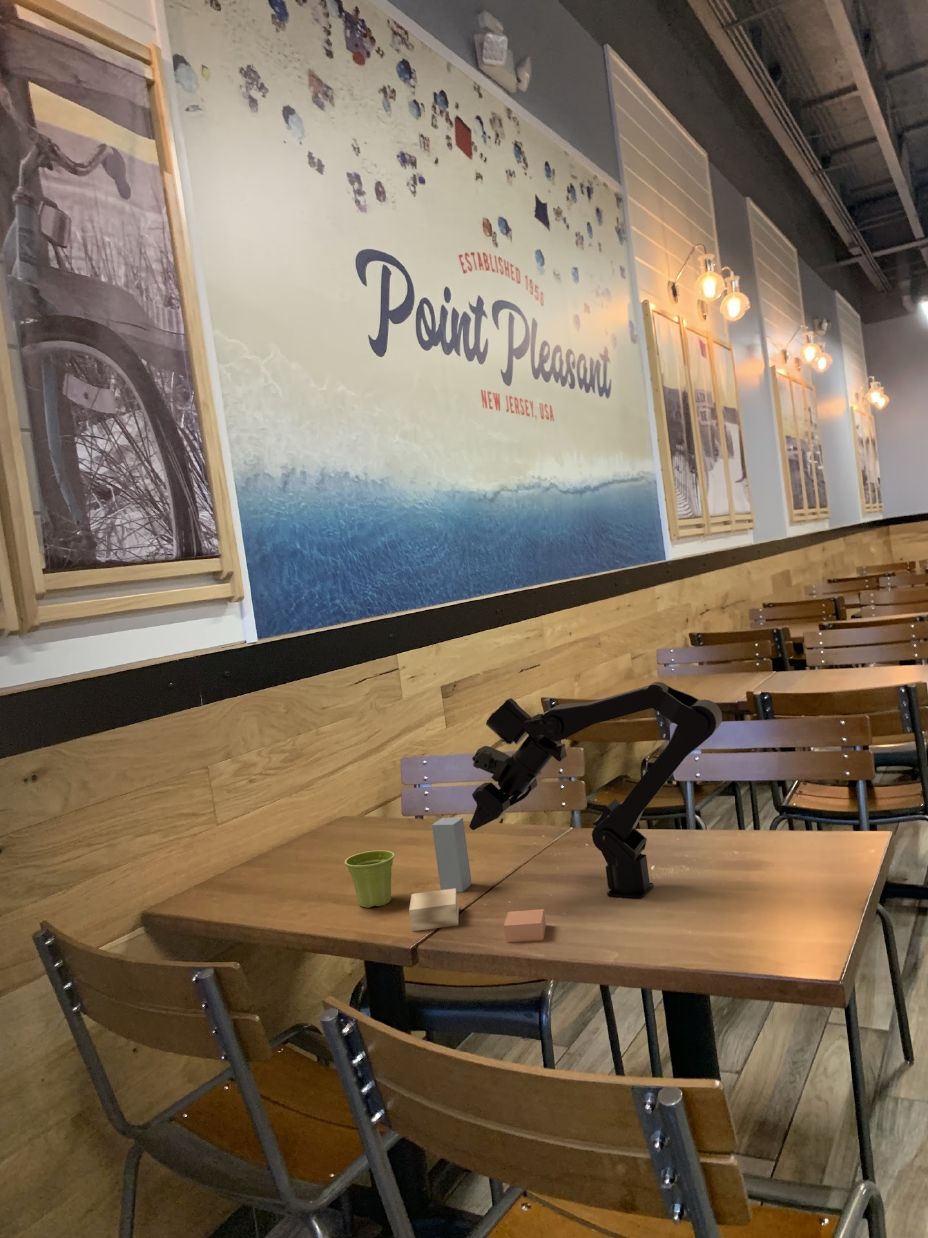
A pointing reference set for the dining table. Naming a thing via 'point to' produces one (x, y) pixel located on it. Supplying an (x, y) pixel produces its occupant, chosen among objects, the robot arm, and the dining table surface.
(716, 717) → the robot arm
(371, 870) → the plant pot
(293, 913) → the dining table surface
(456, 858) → the slate post
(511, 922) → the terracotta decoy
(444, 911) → the birch base
